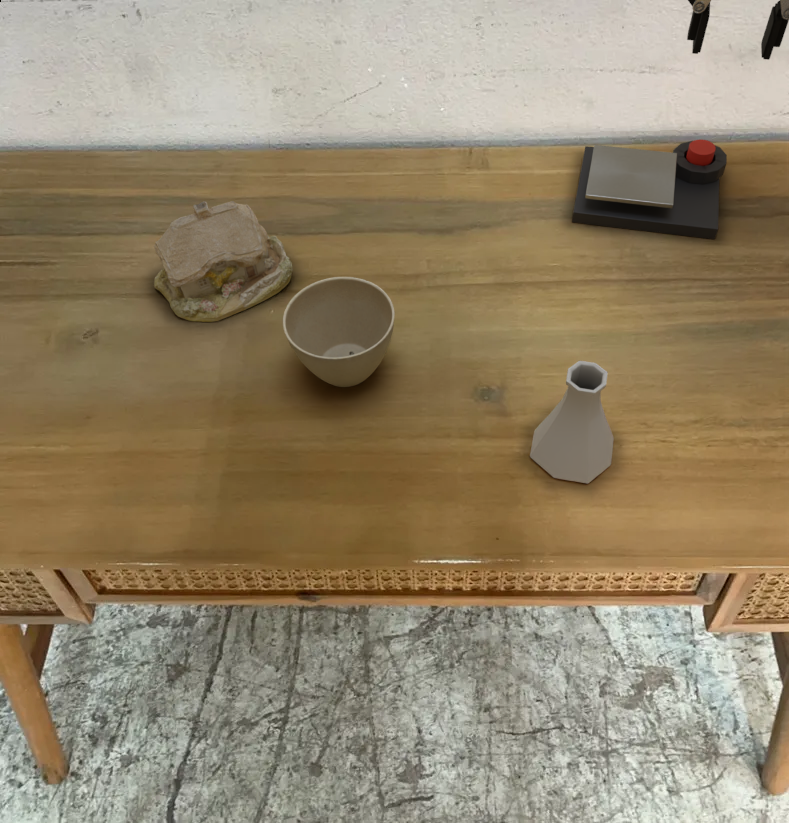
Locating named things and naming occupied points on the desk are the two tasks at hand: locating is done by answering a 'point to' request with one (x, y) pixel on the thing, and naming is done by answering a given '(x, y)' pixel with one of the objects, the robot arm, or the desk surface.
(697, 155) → the tare button
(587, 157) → the scale
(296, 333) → the bowl
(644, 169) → the pan
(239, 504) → the desk surface
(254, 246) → the ceramic model
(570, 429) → the flask
